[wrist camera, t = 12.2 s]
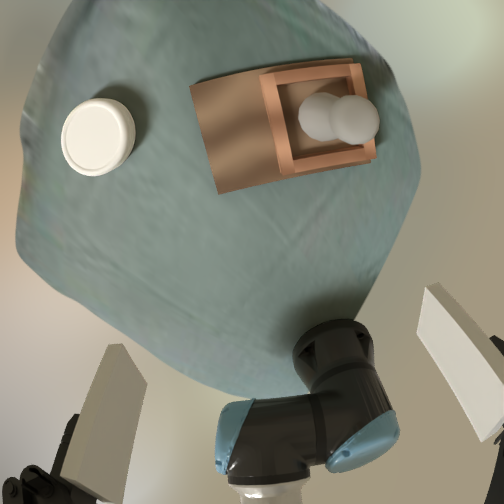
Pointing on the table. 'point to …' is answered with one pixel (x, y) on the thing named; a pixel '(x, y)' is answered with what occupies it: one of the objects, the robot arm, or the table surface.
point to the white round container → (98, 136)
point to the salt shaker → (339, 118)
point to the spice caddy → (274, 123)
